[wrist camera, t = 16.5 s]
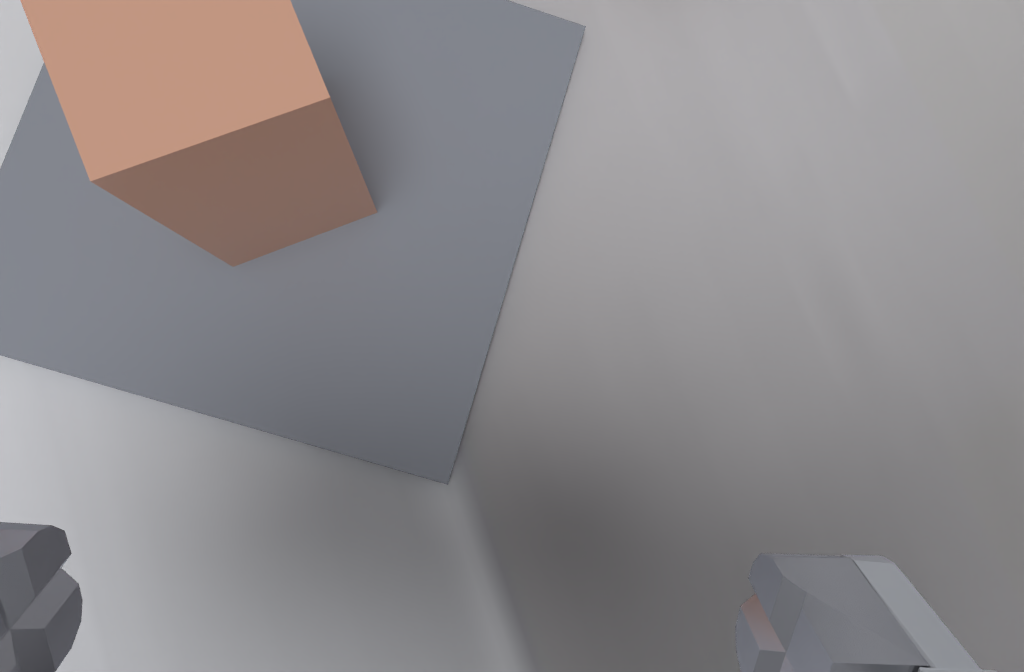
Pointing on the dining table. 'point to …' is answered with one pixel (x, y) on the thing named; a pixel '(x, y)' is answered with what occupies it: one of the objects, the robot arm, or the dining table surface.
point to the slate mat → (312, 244)
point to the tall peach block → (203, 118)
